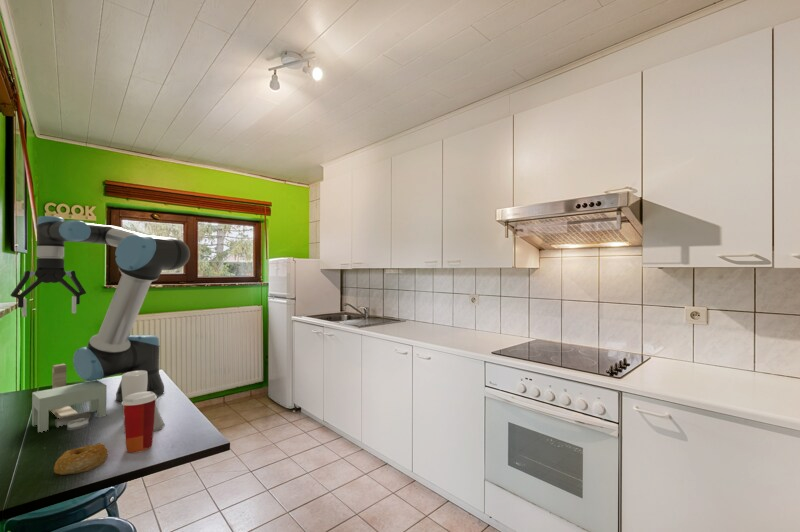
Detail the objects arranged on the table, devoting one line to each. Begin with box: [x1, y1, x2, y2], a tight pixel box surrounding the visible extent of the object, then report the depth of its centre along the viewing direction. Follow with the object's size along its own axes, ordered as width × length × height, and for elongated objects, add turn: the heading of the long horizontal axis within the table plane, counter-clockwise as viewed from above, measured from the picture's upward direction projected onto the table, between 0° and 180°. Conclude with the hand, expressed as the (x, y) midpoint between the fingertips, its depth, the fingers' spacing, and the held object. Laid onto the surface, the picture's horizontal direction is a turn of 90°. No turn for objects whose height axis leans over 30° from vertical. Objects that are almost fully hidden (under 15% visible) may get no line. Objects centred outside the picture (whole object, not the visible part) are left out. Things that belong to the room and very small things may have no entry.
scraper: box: [49, 363, 91, 428], centre depth 121 cm, size 20×8×16 cm, turn 54°
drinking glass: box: [120, 370, 148, 410], centre depth 117 cm, size 7×7×15 cm
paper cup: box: [120, 391, 158, 454], centre depth 98 cm, size 8×8×14 cm
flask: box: [153, 394, 165, 433], centre depth 110 cm, size 7×7×10 cm
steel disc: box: [66, 418, 90, 432], centre depth 112 cm, size 5×5×2 cm
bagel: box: [53, 442, 109, 476], centre depth 89 cm, size 10×11×5 cm
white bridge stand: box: [31, 380, 108, 433], centre depth 117 cm, size 10×16×10 cm, turn 144°
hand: (50, 314), depth 136 cm, fingers open, 13 cm apart
